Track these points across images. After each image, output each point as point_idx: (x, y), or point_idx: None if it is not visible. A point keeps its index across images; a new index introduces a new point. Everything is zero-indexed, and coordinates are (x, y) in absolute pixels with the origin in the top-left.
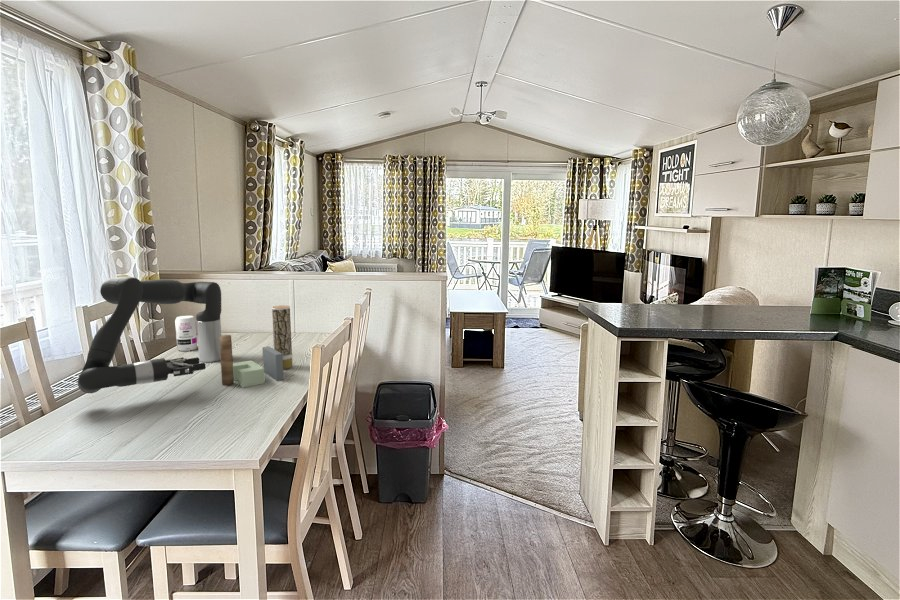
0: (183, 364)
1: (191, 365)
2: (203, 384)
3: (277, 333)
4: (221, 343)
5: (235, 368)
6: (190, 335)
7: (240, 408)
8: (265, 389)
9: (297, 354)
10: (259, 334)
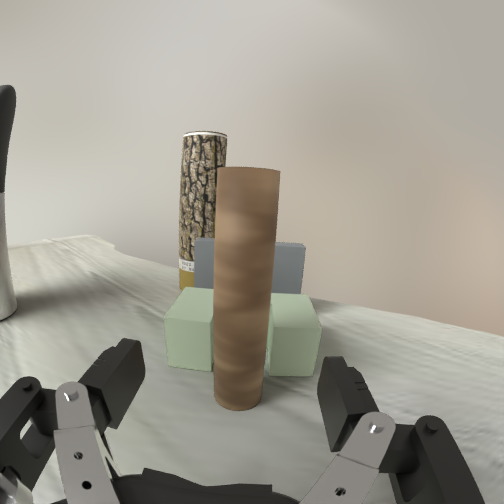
0: (372, 483)
1: (394, 425)
2: (157, 449)
3: (211, 200)
4: (264, 206)
5: (211, 327)
6: None
7: (492, 389)
8: (359, 345)
9: (142, 264)
10: (13, 251)
